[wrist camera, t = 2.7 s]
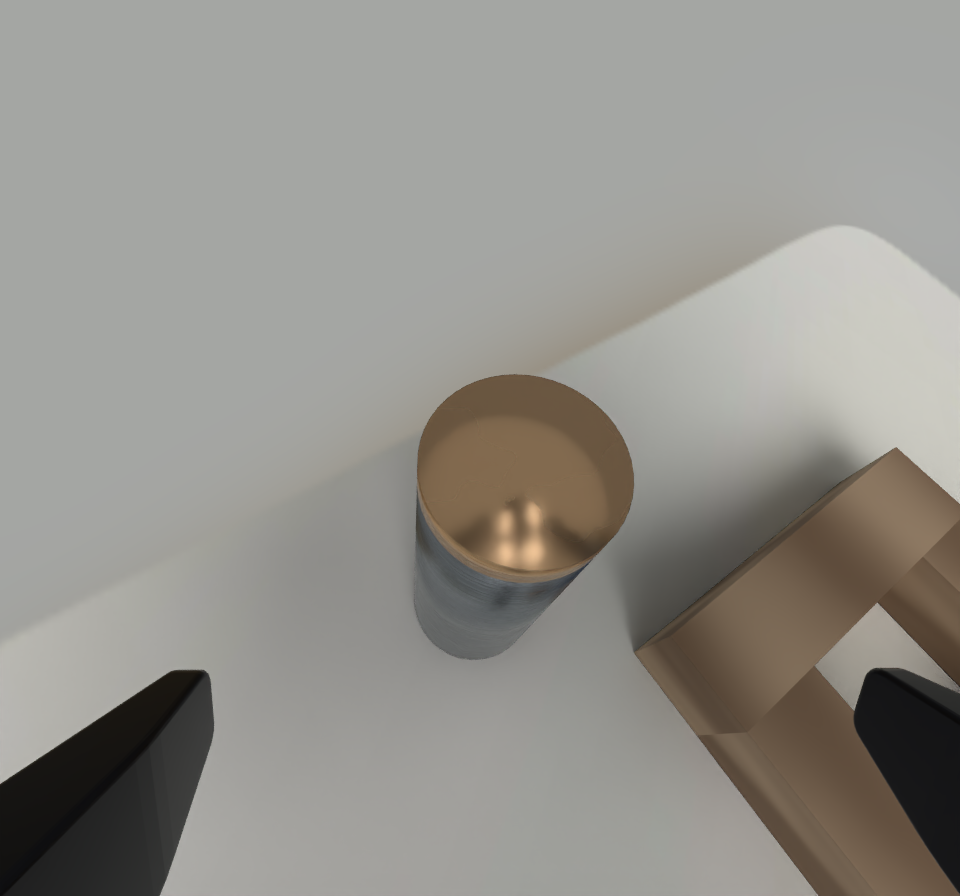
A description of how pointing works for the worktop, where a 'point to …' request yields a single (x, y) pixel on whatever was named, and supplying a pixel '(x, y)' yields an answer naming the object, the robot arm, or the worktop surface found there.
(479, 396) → the copper lidded tin
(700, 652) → the dock block
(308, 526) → the worktop surface
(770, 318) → the worktop surface
